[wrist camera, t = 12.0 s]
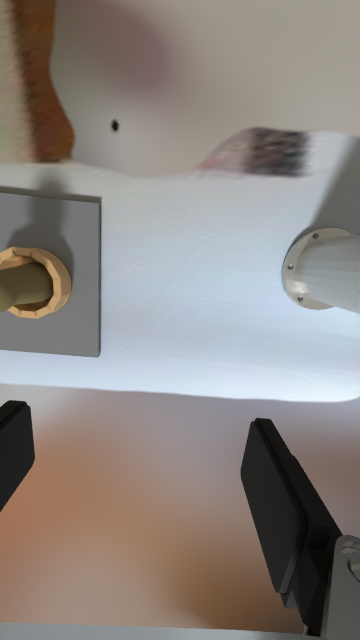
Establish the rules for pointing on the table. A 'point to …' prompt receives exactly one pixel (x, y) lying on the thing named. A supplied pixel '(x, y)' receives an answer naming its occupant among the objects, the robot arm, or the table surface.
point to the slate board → (78, 256)
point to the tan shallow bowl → (56, 270)
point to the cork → (25, 285)
